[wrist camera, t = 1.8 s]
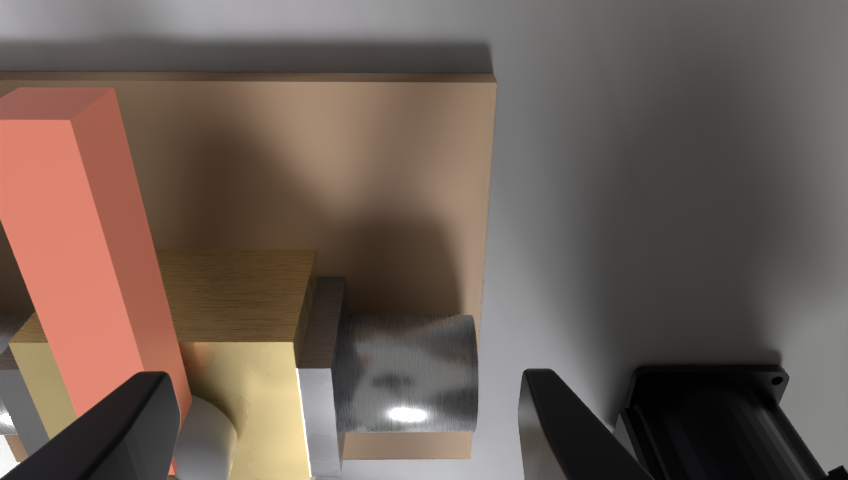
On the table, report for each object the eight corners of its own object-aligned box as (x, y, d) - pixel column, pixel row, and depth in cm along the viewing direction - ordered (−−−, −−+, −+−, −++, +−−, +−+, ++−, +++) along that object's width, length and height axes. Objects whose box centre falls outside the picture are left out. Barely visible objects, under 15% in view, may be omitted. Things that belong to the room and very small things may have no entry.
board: (493, 73, 20) (497, 83, 19) (468, 441, 29) (470, 458, 28) (-143, 70, 19) (-169, 79, 19) (29, 444, 28) (17, 461, 27)
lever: (246, 479, 20) (225, 554, 18) (122, 480, 20) (85, 556, 18) (164, 85, 14) (114, 127, 11) (-22, 84, 13) (-109, 126, 11)
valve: (471, 249, 22) (485, 341, 18) (463, 393, 26) (473, 498, 21) (-72, 249, 22) (-191, 343, 17) (-3, 395, 25) (-88, 503, 21)
